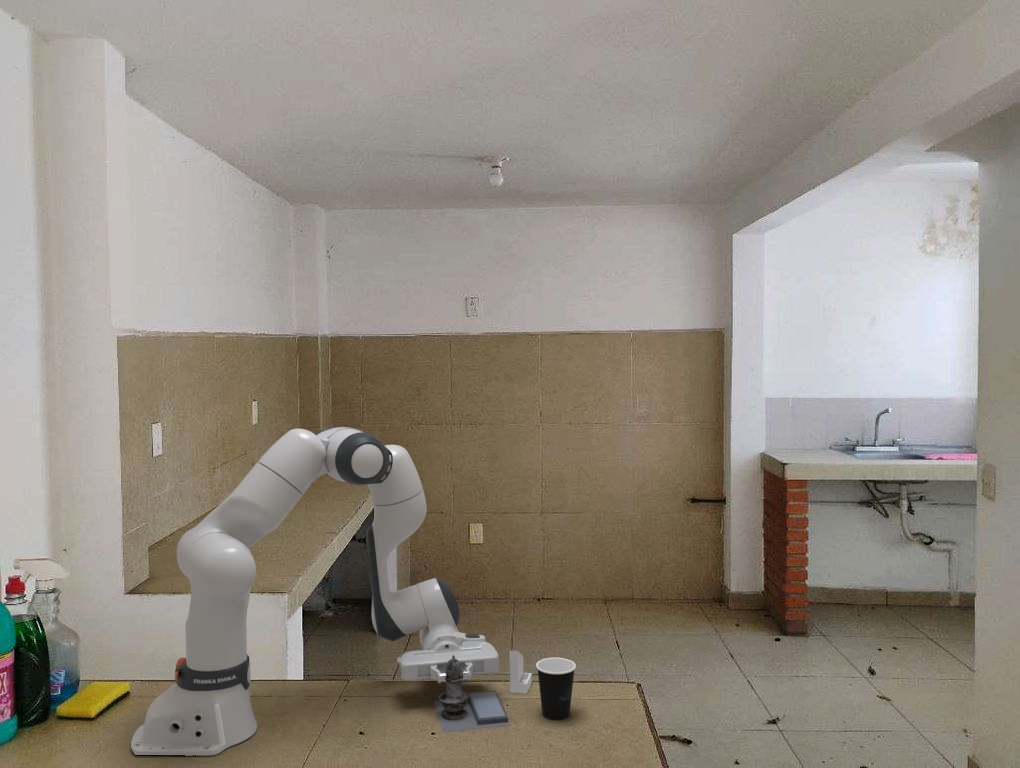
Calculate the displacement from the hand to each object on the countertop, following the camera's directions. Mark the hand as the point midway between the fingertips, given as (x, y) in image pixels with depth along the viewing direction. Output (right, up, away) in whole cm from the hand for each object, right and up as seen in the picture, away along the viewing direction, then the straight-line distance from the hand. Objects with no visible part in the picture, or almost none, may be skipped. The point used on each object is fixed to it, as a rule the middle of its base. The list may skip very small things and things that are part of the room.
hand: (454, 678), depth 168 cm
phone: (+6, -8, +4) cm, 11 cm away
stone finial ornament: (0, -8, +1) cm, 8 cm away
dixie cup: (+20, -9, +1) cm, 22 cm away
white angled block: (+13, -8, +14) cm, 21 cm away
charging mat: (+3, -9, +2) cm, 9 cm away
